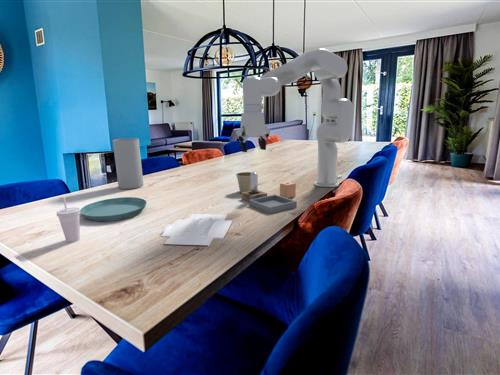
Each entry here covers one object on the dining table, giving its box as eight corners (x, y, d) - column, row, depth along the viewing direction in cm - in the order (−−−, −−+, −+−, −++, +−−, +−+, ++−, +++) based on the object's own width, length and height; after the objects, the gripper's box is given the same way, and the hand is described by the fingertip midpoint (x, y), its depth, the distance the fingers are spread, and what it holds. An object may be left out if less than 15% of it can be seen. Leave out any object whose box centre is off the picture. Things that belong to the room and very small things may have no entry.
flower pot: (253, 194, 148) (253, 176, 146) (234, 193, 150) (233, 175, 148) (257, 189, 157) (257, 172, 155) (238, 188, 159) (238, 171, 157)
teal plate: (85, 208, 132) (84, 201, 131) (145, 201, 140) (145, 194, 139) (76, 228, 110) (75, 219, 109) (149, 218, 118) (148, 210, 117)
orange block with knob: (288, 194, 147) (288, 181, 146) (295, 196, 143) (295, 183, 142) (279, 196, 144) (279, 183, 143) (287, 198, 140) (287, 184, 139)
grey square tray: (275, 199, 138) (275, 194, 138) (296, 207, 127) (296, 201, 127) (249, 205, 131) (249, 199, 130) (270, 213, 120) (269, 207, 119)
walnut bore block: (256, 195, 145) (256, 189, 144) (267, 199, 138) (267, 193, 138) (241, 198, 140) (241, 192, 140) (252, 203, 134) (252, 196, 133)
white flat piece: (235, 217, 119) (235, 207, 118) (220, 252, 92) (219, 240, 91) (183, 216, 121) (182, 207, 120) (153, 250, 94) (151, 238, 93)
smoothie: (67, 236, 102) (60, 194, 98) (88, 235, 102) (81, 193, 99) (57, 244, 96) (49, 200, 92) (79, 243, 96) (72, 199, 93)
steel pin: (255, 198, 141) (254, 171, 139) (259, 199, 139) (258, 172, 136) (249, 199, 140) (249, 172, 137) (253, 200, 137) (253, 173, 135)
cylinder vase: (113, 188, 165) (107, 140, 159) (130, 183, 176) (125, 138, 170) (132, 190, 160) (126, 140, 154) (148, 184, 171) (143, 138, 165)
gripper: (264, 108, 138) (264, 148, 142) (230, 110, 128) (232, 151, 133) (274, 108, 132) (275, 149, 136) (240, 109, 122) (241, 153, 127)
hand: (253, 150), depth 134 cm, fingers open, 9 cm apart
